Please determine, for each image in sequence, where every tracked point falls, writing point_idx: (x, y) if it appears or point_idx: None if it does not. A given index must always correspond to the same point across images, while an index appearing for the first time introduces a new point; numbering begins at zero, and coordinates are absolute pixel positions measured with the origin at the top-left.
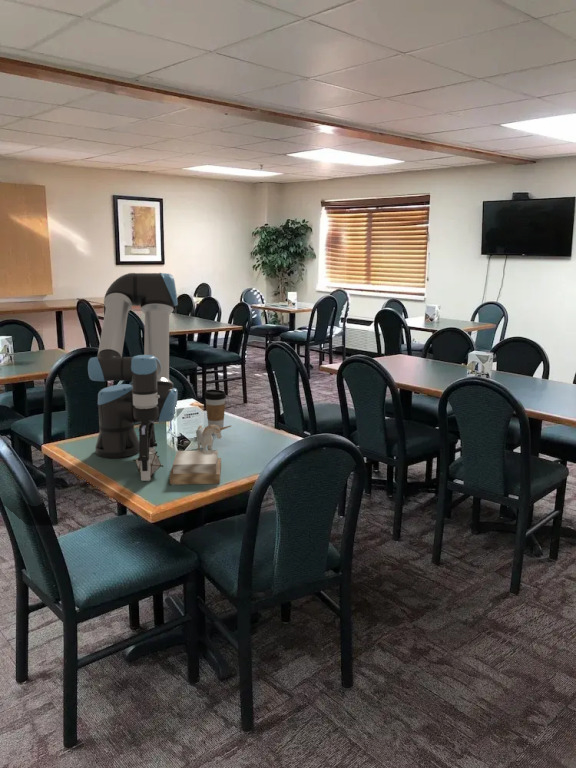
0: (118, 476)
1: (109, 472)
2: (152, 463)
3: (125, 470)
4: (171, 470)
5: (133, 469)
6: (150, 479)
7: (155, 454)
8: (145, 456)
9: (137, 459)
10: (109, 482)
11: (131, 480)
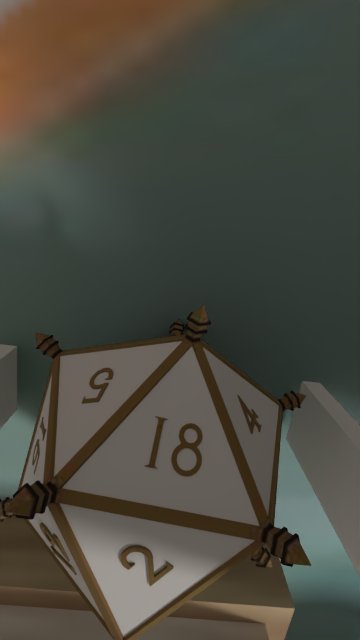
0: (177, 138)
1: (311, 32)
2: (26, 519)
3: (320, 200)
4: (18, 590)
5: (323, 270)
6: (16, 409)
7: (107, 629)
8: (53, 520)
9: (148, 375)
10: (25, 49)
11: (60, 261)
